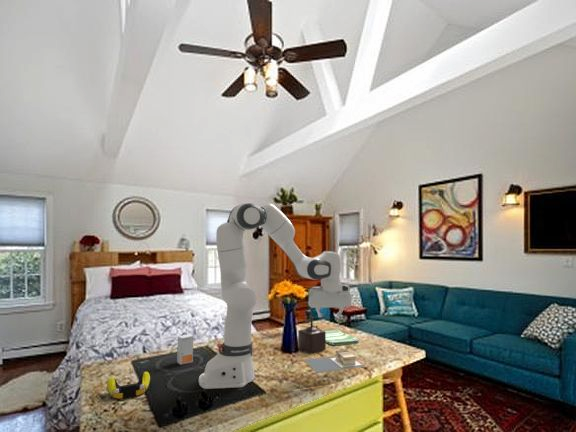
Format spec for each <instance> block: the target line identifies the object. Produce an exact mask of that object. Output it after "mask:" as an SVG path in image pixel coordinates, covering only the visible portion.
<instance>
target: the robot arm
mask: <svg viewBox="0 0 576 432" xmlns="http://www.w3.org/2000/svg"><path fill="white" fill-rule="evenodd" d="M259 227H261V229H263V230H264V231H265V233H266V234H267V235H268V236H269V237H270V238H271V239H272V240H273V241H274V242H275V243H276V244H277V245H278V247H280V248H281V249H282V251H283V252H284V253H285V255H286V256H287V257H288V259H289V260H290V262H291V263H292V265H293V267H294V270H295V273H296V274H297V276H298V277H300V278H304V279H309V280H314V281H315V280H320V286H312V287H310V288H309V289H308V290H309V291H308V295H309V297H308V302H307V303H308V306H309V307H310V308H312V309H313V308H315V311H316V313H317V317H318V318H320V319H321V318H323V313H321V309H322V308H338V309H339V311H338V312H336V317H337V318H341V317H342V313H343V311H344V310H345V308H350V307H351V305H352V295H351V287H350V286H349V285H346V284H344V283H341V277H340V276H341V275H340V274H341V271H342V268H341V267H342V265H341V261H342V260H341V255H340V254H339V253H338V252H335V251H330V250H324V251H323V252H322V253H321V254H318V255H316V256H314V257H309V256H306V255H305V254H304V253H303V252H302V251H301V250H300V248H299V247H298V246H297V244H296V243H295V241H294V238H295V234H296V229H295V227H294V225H293V224H292V222H291V220H290V219H289V218H288V217H287V216H286V215H285V214H284V212H282V211H281V210H280V209H279V208H278V207H277V206H276V205H275V204H273V203H264V204H263V205H261V206H260V205H257V204H256V203H249V202H248V203H241V204H238V205H236V206H235V207H233V208H232V209H231V210H230V213H229V215H228V218H227V221H226V222H223V223H221V224H220V225H219V226H218V227H217V228H216V236H215V237H216V238H215V239H216V242H215V243H216V249H217V256H218V257H217V258H218V265H219V269H220V270H219V271H220V286H221V287H220V288H221V297H222V300H223V301H224V303H225V304H226V306H227V307H226V315H225V320H224V324H223V325H224V327H223V328H224V329H223V333H224V335H223V337H224V338H223V343H222V342H218V343H217V344H216V347H217V349H218V353H217V354H216V355H215V356H213V357H212V358H211V359H210V360H209V361H207V363H206V365H205V369H204V372H203V373H201V374H200V375H199V377H198V385H199V386H200V387H201V388H202V389H205V390H210V389H211V390H213V389H227V388H228V389H230V388H243V387H245V386H246V385H247V384H248V383H251V382H253V381H254V380H255V379H256V378H255V377H256V375H255V371H254V366H253V350H254V349H253V348H254V347H253V342H252V322H253V316H254V315H253V314H254V310H255V306H256V303H257V295H256V293H255V290H254V289H253V288H252V287H251V286H250V285H248V283H247V266H248V263H247V257H246V250H245V245H244V244H245V243H244V240H243V239H244V233H245V231H248V230H250V231H251V230H254V229H256V228H259Z"/></svg>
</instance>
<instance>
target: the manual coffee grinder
mask: <svg viewBox="0 0 576 432" xmlns="http://www.w3.org/2000/svg"><path fill="white" fill-rule="evenodd" d="M311 315H312V311H311V310H309V309H308V310H304V316H305V320H304V322H307V323H309V322H310V326H308V327H307V328H304V329H300V330H298V331H297V332H298V336H297V337H298V341H297V342H298V349H299V350H301V351H302V352H307V353H310V354H312V353H317V352H320V351H325V350H326V347H327V346H326V345H327V343H326V333H325V331H326V330H322V329H321V328H318V325H316V326H314V325H313V322H314V320H313V319H314V317H313V316H311Z"/></svg>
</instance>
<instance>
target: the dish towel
mask: <svg viewBox="0 0 576 432" xmlns="http://www.w3.org/2000/svg"><path fill="white" fill-rule="evenodd" d="M324 331H325V333H326V344H328V345H331V346H344V345H352V344H358V343H359V344H360V342H359V338H357V337H355V336H353V335H351V334H350V335H349V334H347V333H344V332H342V331H341V330H340V329H339V328H337V329H334V330H324Z"/></svg>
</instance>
